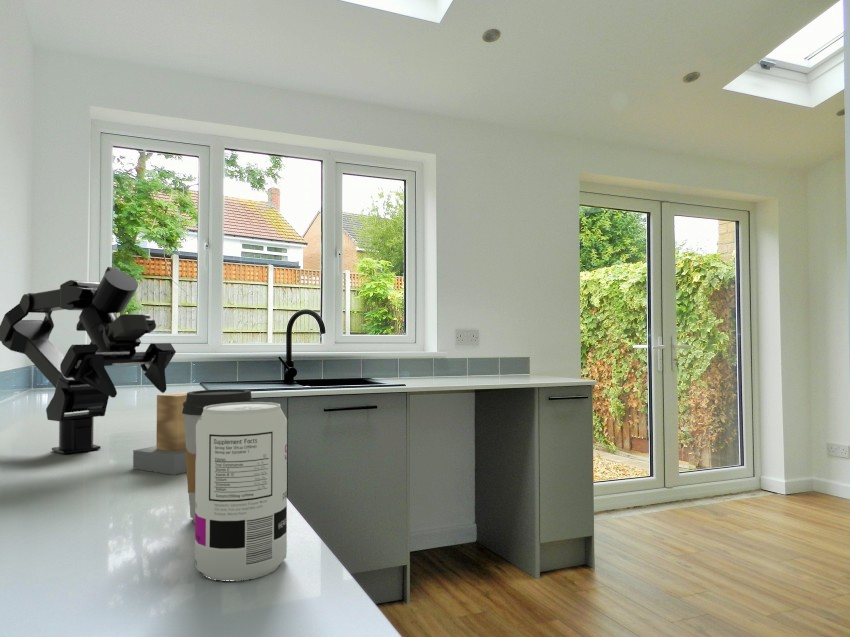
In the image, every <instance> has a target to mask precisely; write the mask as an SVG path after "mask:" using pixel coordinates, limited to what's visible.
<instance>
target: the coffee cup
mask: <svg viewBox="0 0 850 637" xmlns="http://www.w3.org/2000/svg"><path fill="white" fill-rule="evenodd" d="M186 393H187V397H186V401H185V402H183V406H184V407H183V411H182V413H183V414H184V426H185V441H186V442H185V454H186V469H187V472H186V480H187V484H186V485H187V493H188V502H189V517H190V518H191V519H192V522H193V523H194V524H195V470H196V424H197V422H198V420H199V418H200V416H201V415H202V413H203V408H204V407H205V406H209V405H215V404H223V403H237V402H255V399H254V398H252V391H251V390H250V389H241V388H240V389H239V388H234V389H233V388H222V389H221V388H220V389H219V388H218V389H204V390H195V391H188V392H186Z"/></svg>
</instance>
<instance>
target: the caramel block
mask: <svg viewBox="0 0 850 637" xmlns="http://www.w3.org/2000/svg"><path fill="white" fill-rule="evenodd" d="M187 393H188V392H184V391H183V392H173V393H162V394H157V395H156V446H157V447H156V449H161V450H168V451H176V452H177V451H182V450H185V442H186V441H185V426H184V414H183V413H182V411H183V407H184V406H183V402H185V401H186V397H187Z"/></svg>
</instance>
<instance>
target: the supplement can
mask: <svg viewBox="0 0 850 637" xmlns="http://www.w3.org/2000/svg"><path fill="white" fill-rule="evenodd" d="M287 463H288V419H287V417H286V415H285V414H284V411H283V410H282V407H281V404H280V403H277V402H268V401H267V402H266V401H265V402H264V401H254V402H237V403H223V404H215V405H209V406H205V407H204V408H203V413H202V415H201V416H200V418H199V420H198V422H197V424H196V470H195V523H194V566H195V568H196V570H197V571H198V572H200V573H202V575H203V574H204V575H203V576H207V577H210V578H211V579H216V580H225V581H226V580H229V581H230V580H234V581H236V582H242V581H243V580H244V581H249V579H251V580H255V579H257V578H261V577H265V576H267V575H269V574H271V573H273V572H275V571H276V569H278V568H279V567H280V566H281V564H282V563H283V561H285V560H286V558H287V551H288V550H287V548H288V545H287V544H288V543H287V541H288V540H287V538H288V537H287V536H288V532H287V530H288V529H287V528H288V527H287V526H288V525H287V524H288V521H287V519H288V514H287V513H288V511H287V510H288V495H287V493H288V489H287V488H288V485H287V484H288V477H287V476H288V474H287V473H288V467H287V466H288V464H287ZM279 565H280V566H279ZM278 566H279V567H278ZM207 577H206V578H207ZM211 579H210V580H211ZM216 580H215V581H216ZM241 580H242V581H241ZM244 581H243V582H244Z"/></svg>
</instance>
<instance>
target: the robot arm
mask: <svg viewBox="0 0 850 637" xmlns="http://www.w3.org/2000/svg"><path fill="white" fill-rule="evenodd" d="M138 288H139V283H138V280H137V279H136V278H134V277H132V276H131V275H130V274H128V273H126V272H123V271H121V270H120V268H119V267H113V266H107V268H106V269H105V271H104V275H103V277H102V278H101V280H100V281H88V280H78V279H77V280H74V279H69V280H67V281H65V282H64V283H62V284H60V286H59V288H58V289H52V290H47V291H40V292H36V293H33V292H28V293H26V294H25V293H24V294H23V295H22V296H21V299H20V301H19V303H18V304H16V305H15V306H14V307H12V308H11V309H10V310H9V311H8V310H7V312H6V313H5V314H4V316H3V318H2V320H1V322H0V342H1V344H2V345H3V346H4V347H5V348H7V349H8V350H10V351H12V352H14V353H19V354H24V355H25V356H26V357H27V358H28V359H29V360H30V362H31V363H33V365H34V366H35V367H36V368H37V369H38V370H39V372H40V373H41V374H42V375H43V376H44V377H45V378H46V379H47V380H48V382H50V384H51V385H52V386H53V387H54V388H55V390H54V394H53V397H52V398H51V400H50V402H49V403H48V405H47V407H46V409H45V411H46V418H47V421H51V422H52V421H54V422H58V446H55V447H52V448H51V451H52V452H53V451H54V452H56V453H60V454H63V455H65V454H66V455H67V454H74V453H81V452H87V451H94V450H100V449H102V448H101V446H100V445H97V444H94V425H95V424H94V421H95V420H94V418H96V417H105V416H106V412H107V407H108V402H109V398H116V396H117V395H118V392H117V389H116V387H115V385H114V383H113V381H112V379H111V377H110V375H109V373H108V372H107V370H106V367H109V366H129V365H130V366H132V365H140V367H141V369H142V371H144V377H146V378H147V379H148V380H149V382H151V384H152V385H153V386H154V387H155V388H156V389H157V391H159V392H161V393H162V394H165V392H166V391H167V380H166V368H167V366H168V365H169V364H170V362H171V361H172V359H173V357H174V356H175V355H176V352H177V351H176V350H175V348H174V346H173V345H172V343H170V342H164V343H163V342H162V343H161V342H160V343H159V342H157V343H154V342H153V343H152V342H151V343H150V344H149V346H148V347H147V348H146V350H145V351H138V352H137V350H136V347H140V345H141V344H142V341H141V340H140V338H142V337H143V336H144V335H146V334H151V333H152V332H153V331H154V330H156V328H157V324H156V320H155V319H154V317H153V316H152V315H151V314H150V313H149V314H148V313H146V314H145V313H144V314H143V313H142V314H138V313H126V314H125V313H124V314H121V315H119V316H117V315H116V313H118V314H119V313H122V312H125V311H126V308H127V307H128V305H129V303H130V302H131V300H132V298H133V297H134V294H135V293H136V291H137V290H138ZM62 310H63V311H64V310H66V311H81V313H80V314H79V316H78V322H77V323H76V327H75V328H76V332H86V334H87V336H88V337H89V339H90V343H88V344H87V343H85V344H84V343H82V344H71V345H70V346H69V348H68V350H67V351H66V353H65V355H64V354H63V353H62V352H61V351H60V350H59V349H58V348H57V347H56V346H55V345H54V344H53V343H52V342H51V341H50V339H49V338H50V336H51V333H52V332H53V329H54V327H55V324H54V321H53V318H52V314H53V312H55V311H62ZM29 313H41V314H45V316H44V318H43V319H42V320H41V319H25V317H27V316H28V315H29Z"/></svg>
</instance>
